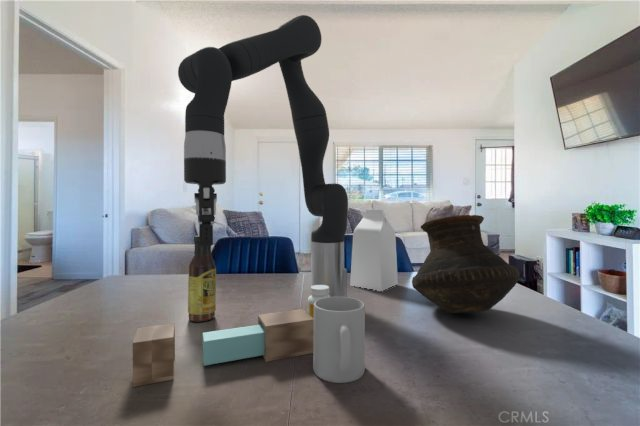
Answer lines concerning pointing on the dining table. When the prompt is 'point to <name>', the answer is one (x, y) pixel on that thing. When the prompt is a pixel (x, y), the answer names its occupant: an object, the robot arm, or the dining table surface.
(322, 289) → the supplement bottle
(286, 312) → the wooden block
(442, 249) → the ceramic pot
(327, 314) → the mug
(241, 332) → the long turquoise beam
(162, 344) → the socket
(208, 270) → the sauce bottle
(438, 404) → the dining table surface
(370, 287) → the milk
